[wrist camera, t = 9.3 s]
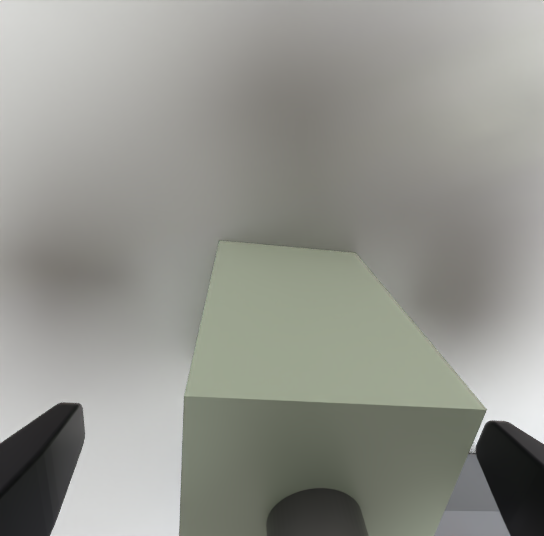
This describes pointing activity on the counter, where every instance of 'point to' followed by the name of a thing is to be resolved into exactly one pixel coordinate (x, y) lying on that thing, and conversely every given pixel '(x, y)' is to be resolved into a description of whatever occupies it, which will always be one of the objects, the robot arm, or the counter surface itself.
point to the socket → (471, 506)
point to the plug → (316, 404)
